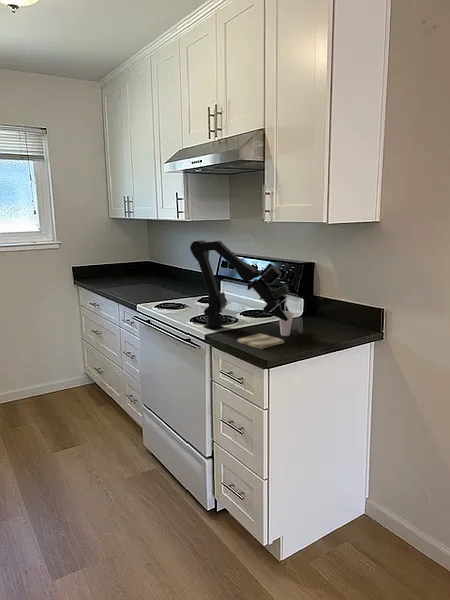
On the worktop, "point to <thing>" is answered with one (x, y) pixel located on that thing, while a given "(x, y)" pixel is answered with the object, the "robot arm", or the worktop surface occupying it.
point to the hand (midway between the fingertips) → (289, 318)
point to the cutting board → (260, 341)
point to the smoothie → (286, 322)
